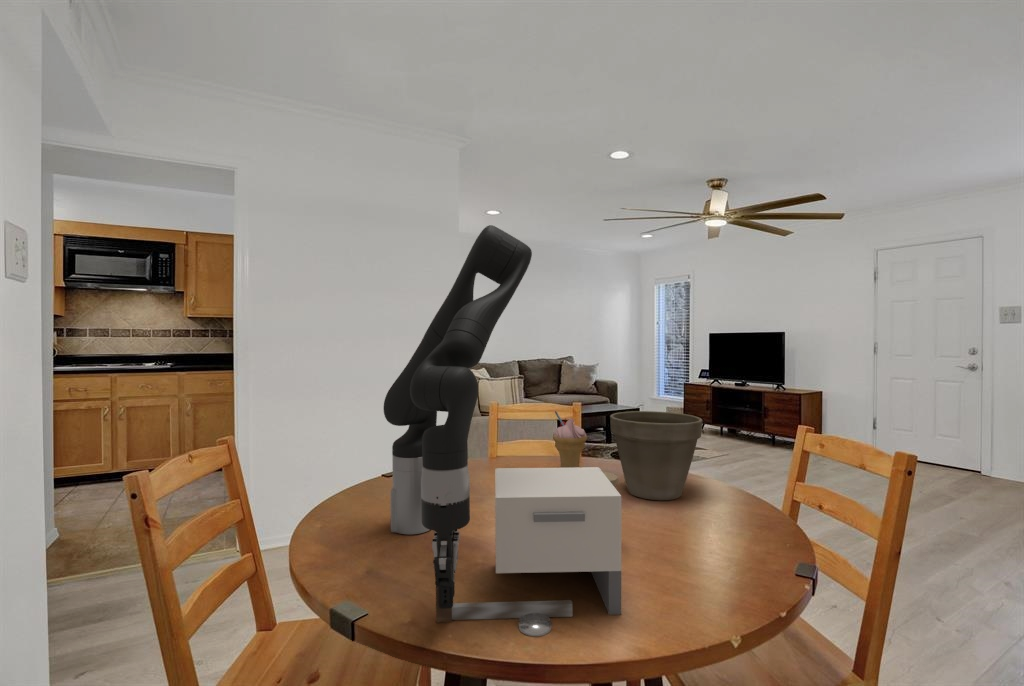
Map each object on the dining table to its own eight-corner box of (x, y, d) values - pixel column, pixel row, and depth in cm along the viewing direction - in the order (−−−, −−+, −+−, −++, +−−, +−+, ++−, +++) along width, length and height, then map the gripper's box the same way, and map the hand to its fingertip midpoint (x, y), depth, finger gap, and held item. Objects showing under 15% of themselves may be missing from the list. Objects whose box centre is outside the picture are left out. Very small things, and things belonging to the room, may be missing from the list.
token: (518, 637, 78) (518, 631, 78) (518, 619, 83) (518, 613, 83) (552, 638, 78) (552, 631, 77) (550, 619, 83) (550, 613, 82)
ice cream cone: (558, 479, 161) (558, 414, 161) (548, 470, 172) (548, 409, 172) (592, 477, 163) (592, 413, 163) (580, 468, 174) (580, 408, 174)
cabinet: (495, 620, 82) (495, 499, 82) (495, 566, 101) (495, 468, 100) (622, 617, 83) (622, 498, 82) (598, 564, 102) (598, 467, 101)
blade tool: (436, 622, 81) (435, 559, 81) (437, 614, 84) (437, 552, 83) (573, 618, 82) (573, 555, 82) (570, 610, 85) (570, 549, 84)
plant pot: (658, 476, 164) (658, 407, 164) (722, 498, 142) (722, 418, 142) (592, 487, 153) (592, 413, 152) (651, 513, 131) (651, 426, 130)
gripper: (426, 480, 89) (428, 581, 89) (415, 509, 75) (416, 628, 75) (471, 480, 89) (472, 580, 90) (467, 508, 75) (468, 627, 76)
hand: (446, 601), depth 82 cm, fingers closed on blade tool, 2 cm apart
